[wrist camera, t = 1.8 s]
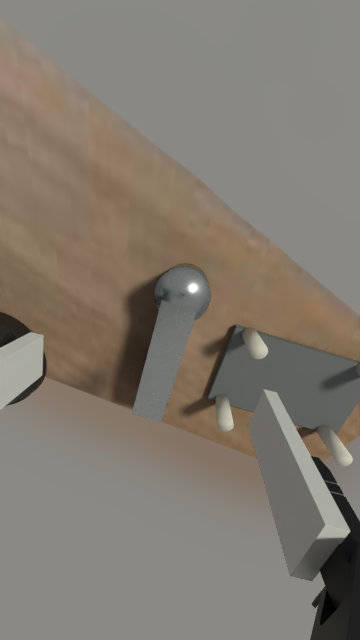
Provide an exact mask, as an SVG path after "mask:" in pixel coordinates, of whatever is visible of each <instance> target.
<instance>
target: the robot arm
mask: <svg viewBox="0 0 360 640" xmlns="http://www.w3.org/2000/svg"><path fill="white" fill-rule="evenodd" d="M43 337H44V335H40V334H36V333H32V332H31V331H30V330H29V329H28V328H27V327H26V326H25V325H24V324H22V323H21V322H20V321H18V320H17V319H15V318H13V317H11V316H9V315H7V314H5V313H2V312H0V410H1V409H2V408H3V407H5V406H7V405H11V404H15V403H17V402H19V401H21V400H23V399H25V398H26V397H28V396H29V395H30V394H31V393H32V392H33V391H35V390H36V389H37V388H38V387H39V386H40V385H41V383H42V382H43V380H44V378H45V374H46V358H45V354H44V351H43ZM248 427H249V430H250V434H251V437H252V441H253V445H254V448H255V452H256V455H257V459H258V463H259V466H260V470H261V473H262V477H263V480H264V484H265V488H266V491H267V495H268V499H269V502H270V505H271V509H272V513H273V517H274V520H275V524H276V527H277V531H278V535H279V538H280V541H281V545H282V549H283V553H284V556H285V560H286V563H287V567H288V570H289V574H290V576H293V577H297V578H301V579H305V580H309V581H313V579H314V578H315V577H316V575H317V574H318V573H319V571H320V572H321V575H322V578H323V580H324V583H325V587H324V588H323V590H322V591H321V592H320V593H319V595H318V596H317V597H316V598H315V600H314V601H313V603H312V605H313V606H314V607H315V608H316V607H317V605H318V604H319V605H318V609H317V614H316V618H315V622H314V626H313V630H312V635H311V639H310V640H360V521H359V519H358V518H357V516H356V514H355V513H354V511H353V509H352V508H351V506H350V504H349V502H348V501H347V499H346V497H344V496H343V492H342V490H341V489H340V487H339V486H338V485H337V482H336V481H335V479H334V477H333V475H332V473H331V472H330V470H329V469H328V468H327V467H326V466H325V464H324V463H323V462H322V461H321V460H320V459H319V458H317V457H313V456H310V454H309V452H308V450H307V448H306V447H305V445H304V443H303V441H302V439H301V437H300V435H299V434H298V432H297V430H296V428H295V426H294V424H293V422H292V420H291V419H290V417H289V415H288V413H287V411H286V409H285V407H284V405H283V404H282V402H281V400H280V398H279V396H278V394H277V392H273V391H269V390H265V389H263V392H262V394H261V397H260V399H259V401H258V404H257V406H256V408H255V411H254V413H253V415H252V418H251V420H250V423H249V425H248Z"/></svg>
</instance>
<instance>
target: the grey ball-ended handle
mask: <svg viewBox="0 0 360 640" xmlns="http://www.w3.org/2000/svg"><path fill="white" fill-rule="evenodd" d="M154 297H155V303H156V305H157V307H158V309H159V313H158V316H157V320H156V324H155V328H154V331H153V335H152V339H151V343H150V347H149V350H148V354H147V358H146V362H145V365H144V369H143V373H142V377H141V381H140V384H139V388H138V392H137V396H136V400H135V403H134V407H133V411H132V414H135V415H139V416H142V417H146V418H149V419H152V420H156V421H159V422H161V420H162V417H163V414H164V411H165V408H166V405H167V402H168V399H169V396H170V393H171V390H172V387H173V383H174V380H175V377H176V374H177V371H178V368H179V365H180V362H181V359H182V356H183V353H184V350H185V347H186V343H187V340H188V337H189V334H190V331H191V328H192V325H193V322H194V320H196V319H198V318H199V317H201V316H202V315H203V314H204V313H205V311H206V310H207V308H208V306H209V303H210V288H209V284H208V280H207V277H206V275H205V273H204V272H203V271H202V270H201V269H200V268H199V267H197V266H195V265H193V264H187V263H184V264H179V265H176V266H174V267H173V268H171V269H170V270H169V271H167V272H166V273H165V274H164V275H163V276H162V277H161V278H160V279H159V281H158V282H157V284H156V287H155V293H154Z"/></svg>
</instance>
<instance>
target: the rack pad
mask: <svg viewBox="0 0 360 640" xmlns="http://www.w3.org/2000/svg"><path fill="white" fill-rule="evenodd" d="M263 389H265V390H269V391H273V392H277V394H278V396H279V398H280V400H281V402H282V404H283V405H284V407H285V409H286V411H287V413H288V415H289V417H290V419H291V420H292V422H293V424H296V425H299V426H302V427H306V428H309V429H312V430H316V431H317V433H318V434H319V436H320V437H321V439H322V441H323V442H324V444H325V445H326V447H327V449H328V450H329V452H330V453H331V455H332V456H333V458H334V460H335V461H336V463H337V464H338V465H340V466H347V465H349V464H350V463H352V460H353V458H352V457H351V455H350V454H349V452H348V451H347V450H346V448H345V447H344V445H343V444H342V443H341V441H340V440H339V438H338V437H337V436H336V434H337V433H338V431H339V430H340V428H341V427H342V425H343V424H344V422H345V421H346V419H347V418H348V416H349V415H350V413H351V412H352V410H353V409H354V407H355V406H356V404H357V403H358V402H359V400H360V362H359V361H356V360H352V359H349V358H346V357H342V356H339V355H336V354H332V353H329V352H326V351H322V350H319V349H316V348H312V347H309V346H306V345H302V344H299V343H296V342H292V341H289V340H286V339H282V338H279V337H276V336H272V335H269V334H266V333H262V332H259V331H256V330H255V329H254V328H245V327H242V326H239V325H235V327H234V329H233V332H232V334H231V337H230V339H229V342H228V345H227V347H226V350H225V352H224V355H223V357H222V360H221V362H220V365H219V367H218V370H217V372H216V375H215V378H214V380H213V383H212V385H211V388H210V390H209V393H208V399H211V400H215V403H216V413H217V424H218V428H219V429H220V430H222V431H230V430H231V429H232V428H233V419H232V414H231V409H230V405H232V406H235V407H238V408H242V409H245V410H248V411H252V412H254V411H255V408H256V406H257V404H258V401H259V399H260V397H261V394H262V392H263Z"/></svg>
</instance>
